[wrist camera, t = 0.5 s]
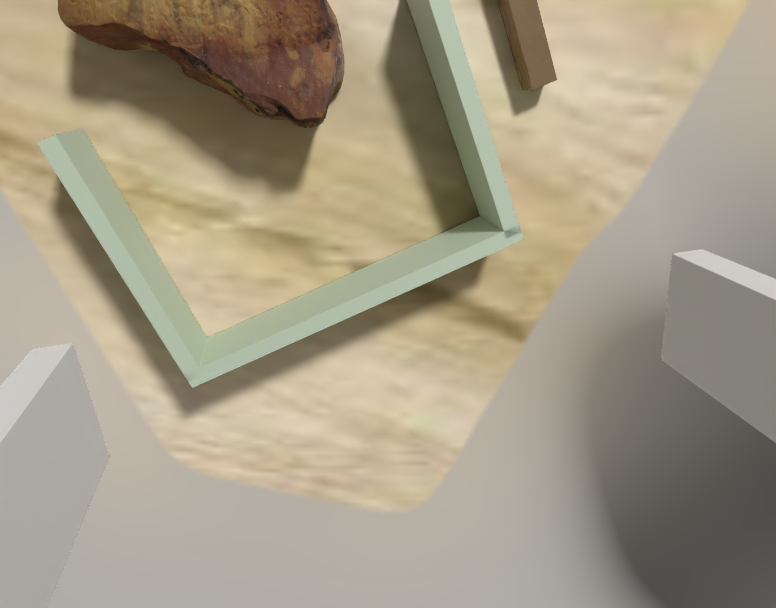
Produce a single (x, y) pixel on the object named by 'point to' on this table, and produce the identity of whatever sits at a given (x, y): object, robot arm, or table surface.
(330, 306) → the mint green u-channel
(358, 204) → the table surface
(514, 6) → the trowel
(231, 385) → the table surface
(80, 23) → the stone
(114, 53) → the table surface
